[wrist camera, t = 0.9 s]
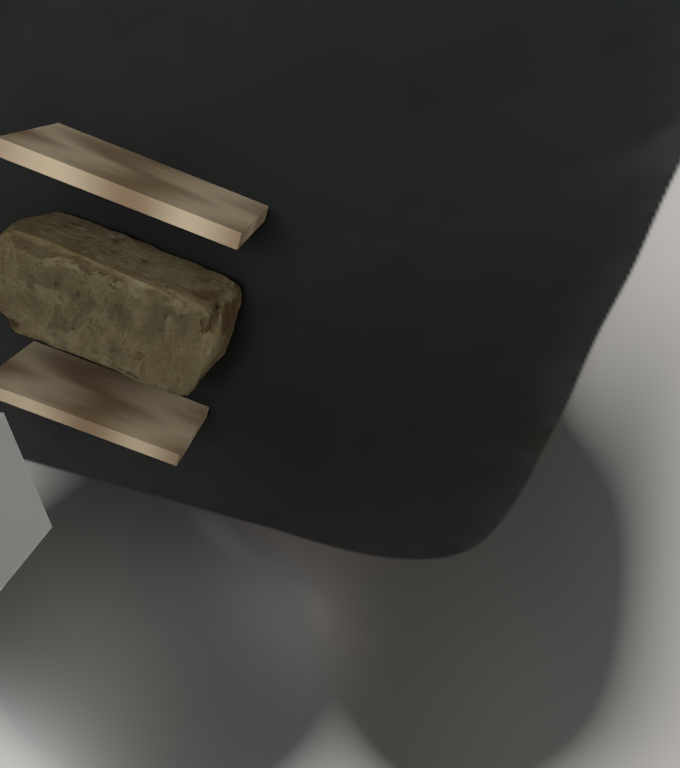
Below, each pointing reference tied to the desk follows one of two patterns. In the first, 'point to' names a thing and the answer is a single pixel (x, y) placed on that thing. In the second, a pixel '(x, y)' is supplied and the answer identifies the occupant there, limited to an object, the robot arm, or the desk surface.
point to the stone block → (115, 300)
